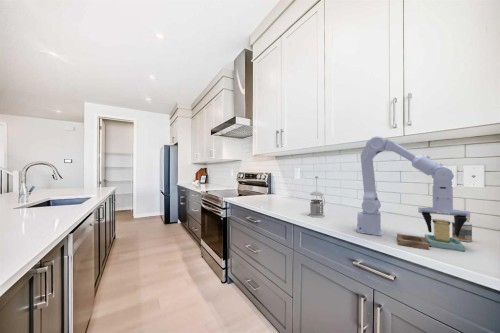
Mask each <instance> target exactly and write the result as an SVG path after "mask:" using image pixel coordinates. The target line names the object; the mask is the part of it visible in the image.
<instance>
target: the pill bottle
mask: <svg viewBox="0 0 500 333" xmlns="http://www.w3.org/2000/svg"><path fill="white" fill-rule="evenodd" d="M466 218H467V220H466V222H465V223H464V224H463V226H462V228H461V230H460V232H459V236H456V235H455V233H454V230H455V222H454V219H453V220H452V221H451V222H452V223H451V226H452V228H451V230H452V236H451V238H457V239H458V240H459V241H460V242H465V243H466V242H470V243H471V242H472V241H473V224H472V222H471V221H470V220H471V216H470V217H466Z"/></svg>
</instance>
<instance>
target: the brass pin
mask: <svg viewBox="0 0 500 333" xmlns="http://www.w3.org/2000/svg"><path fill="white" fill-rule="evenodd" d="M432 224H433V235H434V241H437V242H444V243H450V238H451V237H450V235H451V234H450V232H451V231H450V230H451V228H450V225H451V222H450V221H449V220H445V219H438V218H436V219H432Z"/></svg>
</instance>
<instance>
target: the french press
mask: <svg viewBox="0 0 500 333" xmlns="http://www.w3.org/2000/svg"><path fill="white" fill-rule="evenodd" d="M314 178H315V180H316V181H315V182H316V185H315V186H316V187H315V188H318V183H317V182H318V179H319V177H318V176H314ZM309 195H311V196H316V197H318V196H319V198H320V199H317V198H316V199H310V204H309V205H310V211H309V212H310V214H309V215H308V216H309V217H310V218H315V219H316V218H318V219H321V218H325V217H326V216H325V215H324V206H325V202H326V200H325V198H323V196H324V193H323V192H321V191H318V190H315V191H312V192H311V193H309Z"/></svg>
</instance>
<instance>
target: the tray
mask: <svg viewBox="0 0 500 333" xmlns="http://www.w3.org/2000/svg"><path fill="white" fill-rule="evenodd" d="M424 237H425V239H426V240H427V242H428V244H429V247H432V248H436V249H437V248H438V249H439V248H440V249H446V250H452V251H458V252H465V249H466V248H465V245H464V244H463V243H462V241H459V240H458V239H457V238H453V237H450V243H444V242H437V241H434V234H427V233H425V234H424Z"/></svg>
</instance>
